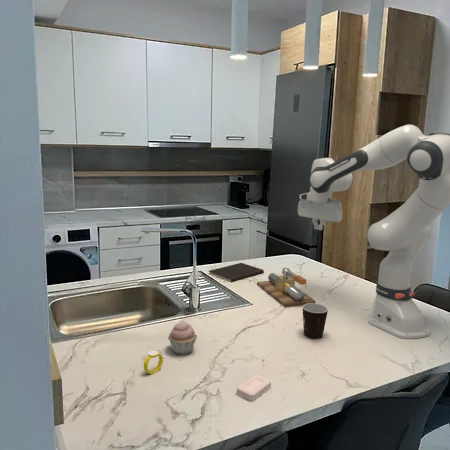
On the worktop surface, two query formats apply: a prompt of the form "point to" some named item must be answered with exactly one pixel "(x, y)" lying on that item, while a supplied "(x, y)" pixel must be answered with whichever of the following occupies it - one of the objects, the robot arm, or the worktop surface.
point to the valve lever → (294, 276)
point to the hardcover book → (236, 272)
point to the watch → (150, 355)
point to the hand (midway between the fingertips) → (318, 229)
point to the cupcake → (182, 338)
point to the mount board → (283, 295)
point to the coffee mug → (314, 320)
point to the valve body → (286, 286)
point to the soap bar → (253, 387)
